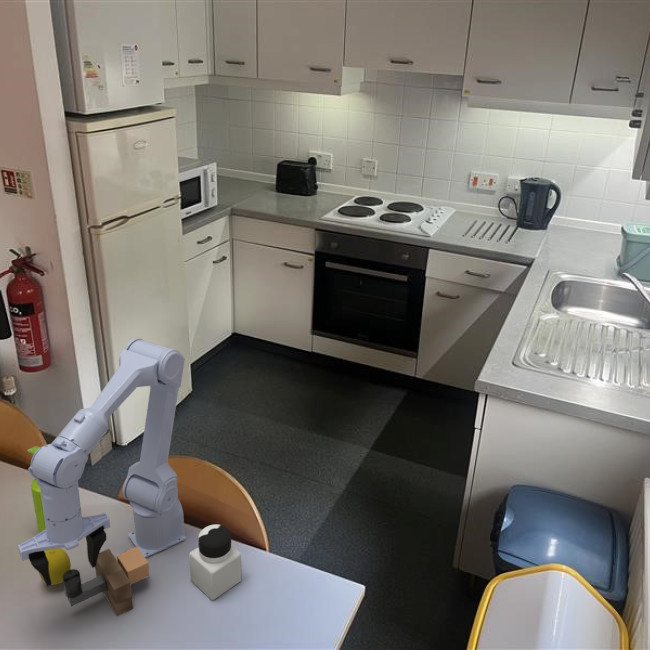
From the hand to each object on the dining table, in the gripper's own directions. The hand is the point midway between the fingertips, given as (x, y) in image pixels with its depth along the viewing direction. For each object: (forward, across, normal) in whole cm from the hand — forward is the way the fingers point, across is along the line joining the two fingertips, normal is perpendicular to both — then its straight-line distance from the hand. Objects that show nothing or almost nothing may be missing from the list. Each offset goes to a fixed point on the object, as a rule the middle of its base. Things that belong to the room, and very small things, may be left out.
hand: (70, 572), depth 111 cm
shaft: (+6, +6, 0) cm, 9 cm away
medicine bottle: (+9, +24, -8) cm, 27 cm away
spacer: (+6, +11, 0) cm, 13 cm away
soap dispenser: (+10, +3, +23) cm, 25 cm away
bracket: (+9, +7, 0) cm, 12 cm away
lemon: (+10, 0, +9) cm, 13 cm away
